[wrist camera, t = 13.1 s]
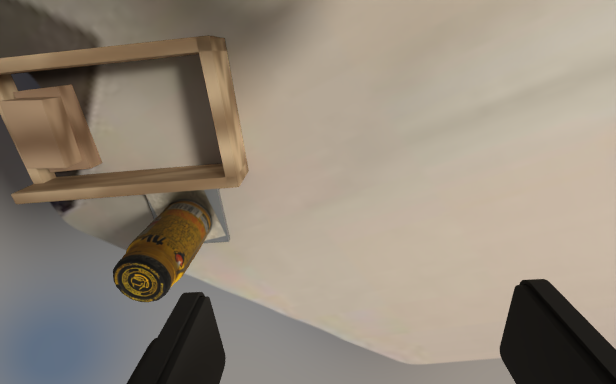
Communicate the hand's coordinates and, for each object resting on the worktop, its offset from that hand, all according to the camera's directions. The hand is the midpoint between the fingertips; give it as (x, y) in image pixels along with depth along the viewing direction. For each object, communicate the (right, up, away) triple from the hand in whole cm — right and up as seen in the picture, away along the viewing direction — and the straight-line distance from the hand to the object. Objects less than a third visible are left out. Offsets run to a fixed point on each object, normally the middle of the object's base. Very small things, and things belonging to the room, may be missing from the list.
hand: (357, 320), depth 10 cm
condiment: (-17, +1, +30) cm, 34 cm away
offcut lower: (-29, +12, +27) cm, 41 cm away
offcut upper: (-30, +11, +24) cm, 40 cm away
